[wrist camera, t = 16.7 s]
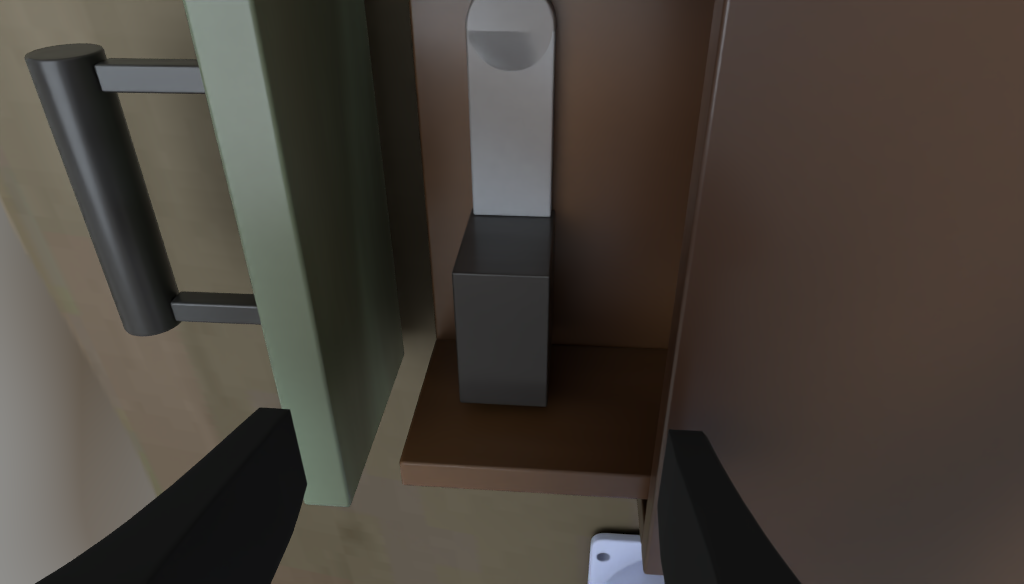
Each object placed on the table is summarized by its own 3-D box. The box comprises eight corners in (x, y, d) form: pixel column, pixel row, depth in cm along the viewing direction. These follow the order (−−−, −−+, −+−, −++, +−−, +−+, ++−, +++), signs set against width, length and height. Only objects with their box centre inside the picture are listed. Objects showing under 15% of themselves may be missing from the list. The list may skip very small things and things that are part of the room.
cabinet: (625, 362, 23) (643, 575, 16) (676, -166, 15) (749, -176, 9) (1094, 383, 22) (1322, 622, 15) (1403, -175, 14) (2150, -196, 8)
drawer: (209, 345, 23) (98, 493, 18) (70, -127, 16) (-184, -115, 11) (796, 372, 22) (865, 541, 16) (929, -135, 15) (1126, -126, 9)
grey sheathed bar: (552, 329, 20) (547, 408, 17) (476, 325, 21) (459, 403, 18) (562, -24, 15) (556, 5, 12) (462, -25, 16) (434, 4, 13)
